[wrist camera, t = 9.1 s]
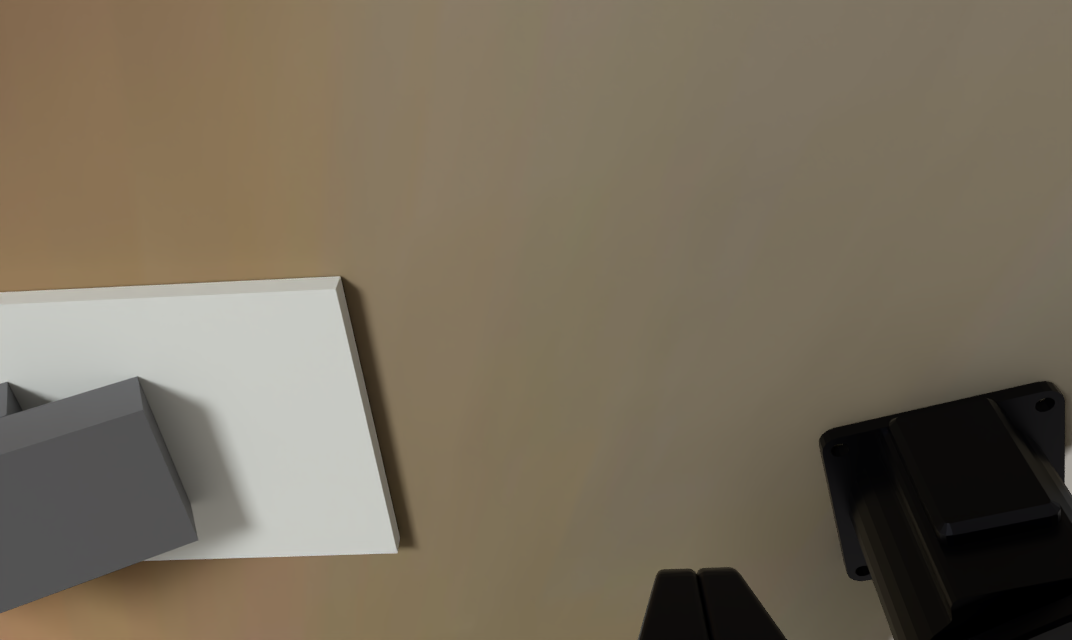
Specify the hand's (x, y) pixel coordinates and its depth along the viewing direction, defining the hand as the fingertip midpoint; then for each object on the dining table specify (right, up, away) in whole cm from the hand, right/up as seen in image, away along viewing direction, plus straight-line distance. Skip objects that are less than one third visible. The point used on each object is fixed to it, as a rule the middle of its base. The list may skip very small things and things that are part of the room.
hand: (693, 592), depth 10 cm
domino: (-12, -1, +15) cm, 19 cm away
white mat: (-16, 0, +17) cm, 23 cm away
